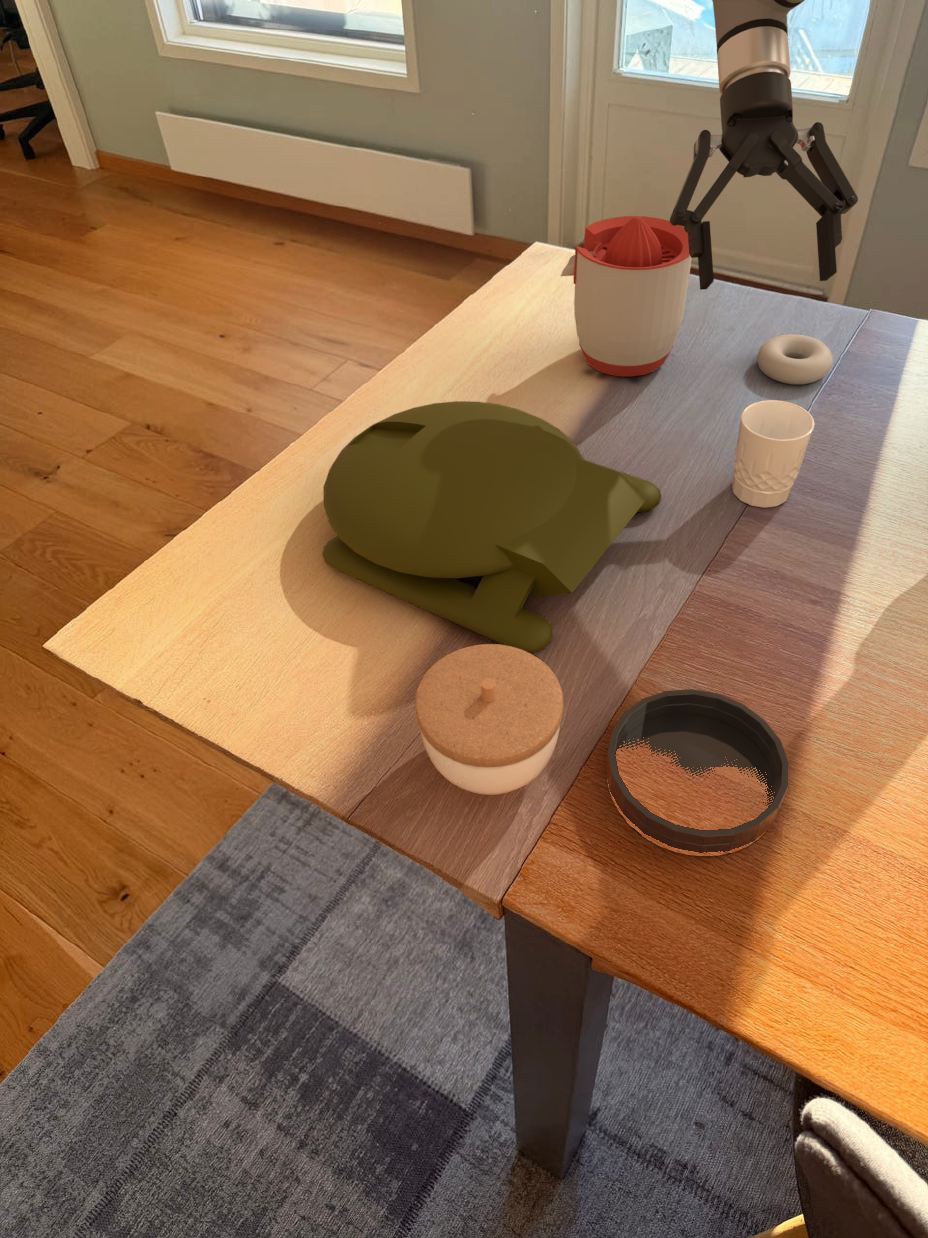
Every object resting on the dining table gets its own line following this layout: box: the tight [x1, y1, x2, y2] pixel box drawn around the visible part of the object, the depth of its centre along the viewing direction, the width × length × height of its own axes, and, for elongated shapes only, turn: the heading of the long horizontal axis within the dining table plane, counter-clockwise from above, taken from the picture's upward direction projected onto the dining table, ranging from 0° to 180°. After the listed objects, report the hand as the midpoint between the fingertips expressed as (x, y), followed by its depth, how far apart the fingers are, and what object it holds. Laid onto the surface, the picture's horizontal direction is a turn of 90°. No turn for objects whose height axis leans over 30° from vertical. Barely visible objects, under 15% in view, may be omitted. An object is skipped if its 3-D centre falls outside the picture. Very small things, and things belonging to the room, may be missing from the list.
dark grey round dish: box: [605, 688, 790, 853], centre depth 80 cm, size 15×15×4 cm
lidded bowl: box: [414, 643, 564, 796], centre depth 79 cm, size 13×13×11 cm
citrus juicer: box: [560, 215, 693, 377], centre depth 123 cm, size 16×17×20 cm
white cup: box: [731, 399, 815, 509], centre depth 105 cm, size 8×8×10 cm
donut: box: [756, 333, 834, 385], centre depth 125 cm, size 10×4×10 cm
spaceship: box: [322, 400, 662, 654], centre depth 103 cm, size 35×31×10 cm
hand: (767, 281), depth 101 cm, fingers open, 13 cm apart
